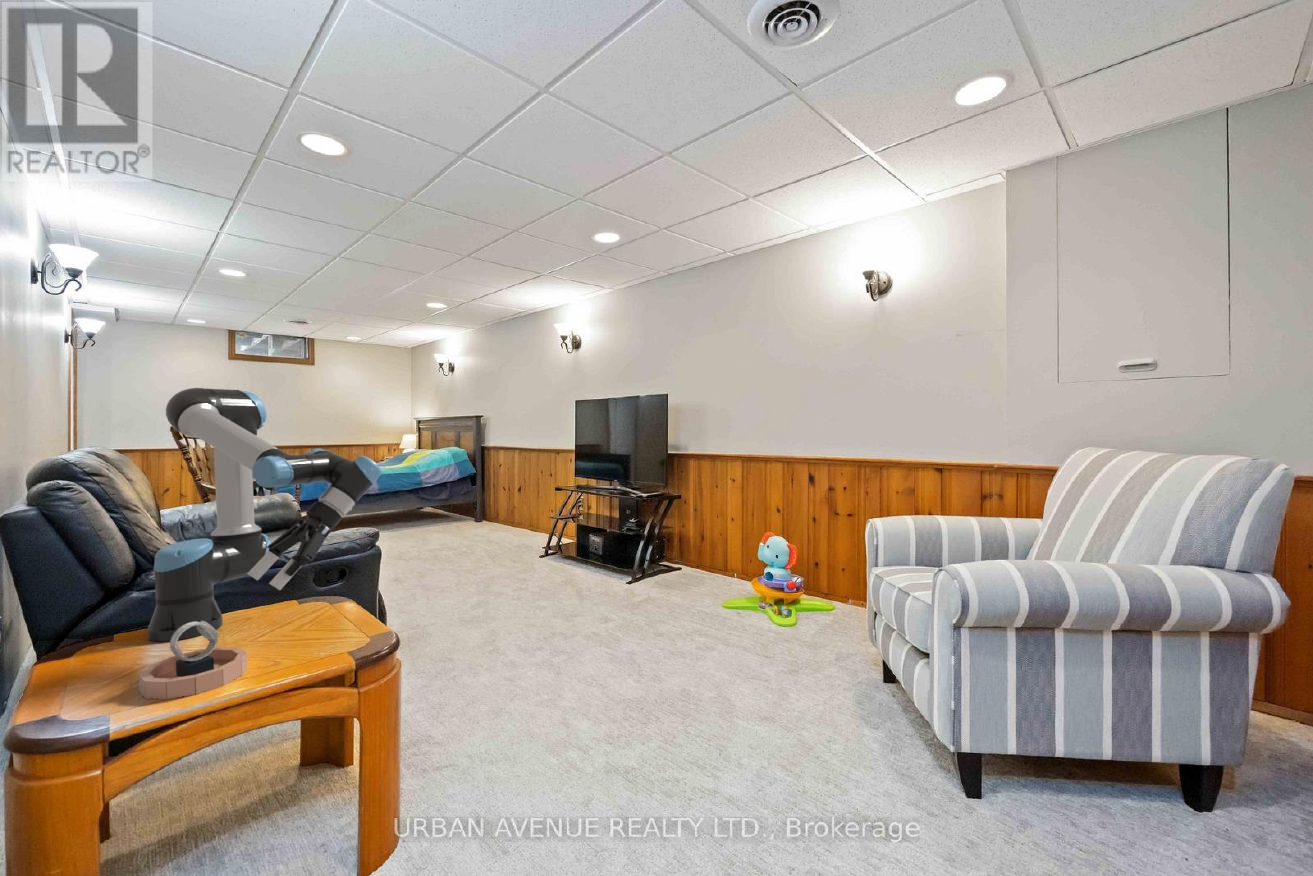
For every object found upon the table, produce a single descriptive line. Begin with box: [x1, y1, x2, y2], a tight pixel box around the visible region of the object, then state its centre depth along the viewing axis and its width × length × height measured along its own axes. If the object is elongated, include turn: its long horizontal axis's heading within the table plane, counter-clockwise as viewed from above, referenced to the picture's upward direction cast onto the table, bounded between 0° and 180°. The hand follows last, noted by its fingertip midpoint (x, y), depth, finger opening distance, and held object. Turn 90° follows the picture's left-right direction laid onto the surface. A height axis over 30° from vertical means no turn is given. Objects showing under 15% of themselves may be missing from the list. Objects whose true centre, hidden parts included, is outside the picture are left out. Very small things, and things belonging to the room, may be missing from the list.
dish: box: [138, 646, 248, 700], centre depth 117 cm, size 17×17×4 cm
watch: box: [169, 621, 220, 677], centre depth 117 cm, size 6×8×11 cm
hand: (262, 582), depth 128 cm, fingers open, 13 cm apart
